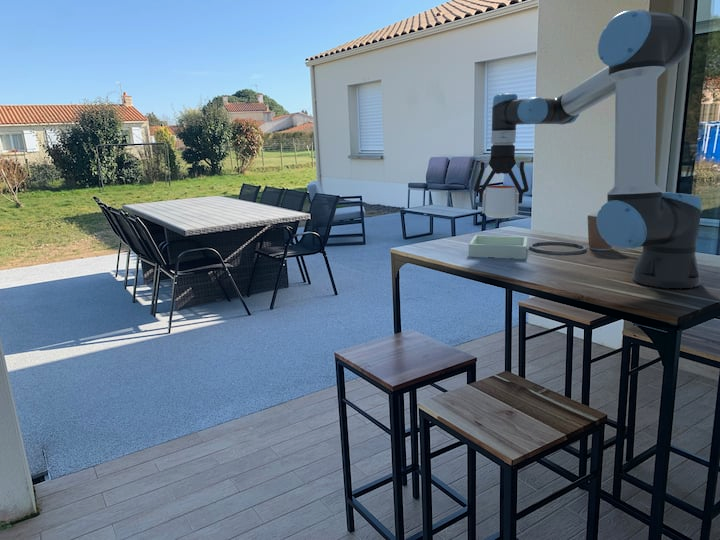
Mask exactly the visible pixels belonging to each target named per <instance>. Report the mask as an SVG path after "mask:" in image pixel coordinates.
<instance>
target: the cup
mask: <svg viewBox="0 0 720 540" xmlns="http://www.w3.org/2000/svg"><path fill="white" fill-rule="evenodd" d="M484 191H485V192H484V193H485V213H484V215H485V216H486V217H487V218H492V219H510V218H513V217H514V216H515V215H516V214H515V212H516V194H517V193H518V190H517V188H516V186H515V185H487V187H486V189H485V190H484Z"/></svg>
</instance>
